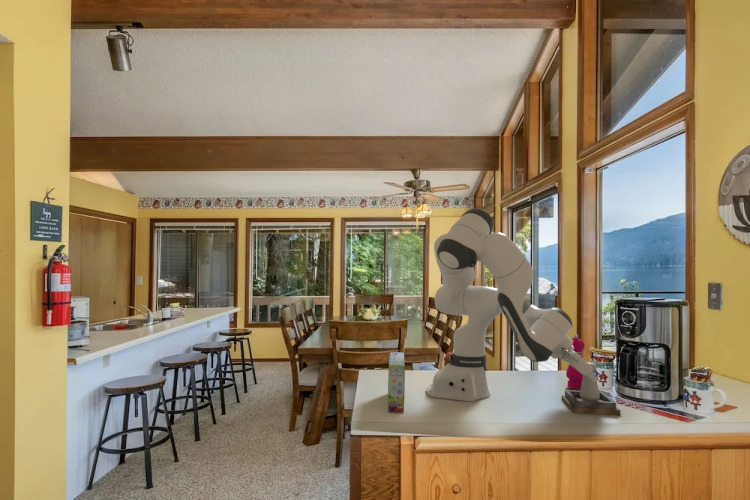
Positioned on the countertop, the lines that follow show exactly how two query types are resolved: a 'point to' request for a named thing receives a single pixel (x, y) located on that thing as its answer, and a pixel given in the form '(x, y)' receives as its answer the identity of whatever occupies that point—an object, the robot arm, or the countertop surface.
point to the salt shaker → (589, 387)
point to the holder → (590, 404)
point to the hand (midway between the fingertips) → (591, 376)
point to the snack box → (396, 382)
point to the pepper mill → (571, 372)
